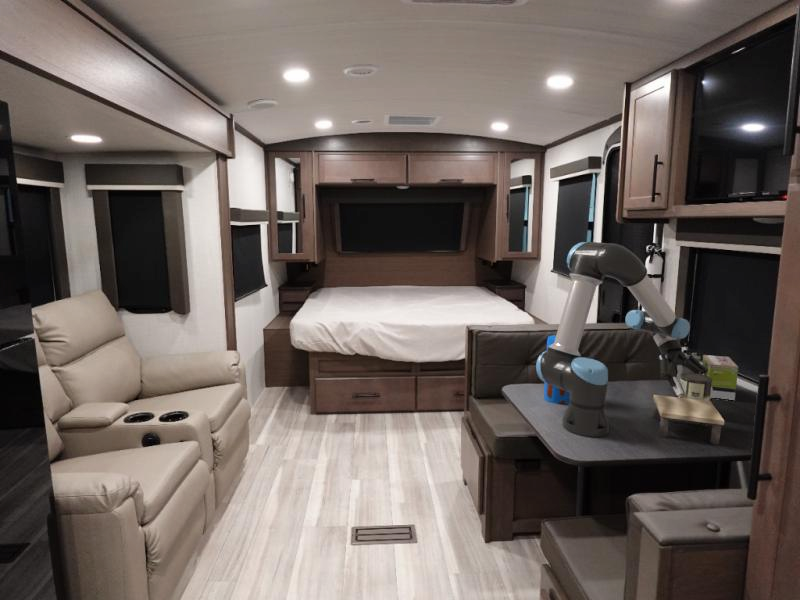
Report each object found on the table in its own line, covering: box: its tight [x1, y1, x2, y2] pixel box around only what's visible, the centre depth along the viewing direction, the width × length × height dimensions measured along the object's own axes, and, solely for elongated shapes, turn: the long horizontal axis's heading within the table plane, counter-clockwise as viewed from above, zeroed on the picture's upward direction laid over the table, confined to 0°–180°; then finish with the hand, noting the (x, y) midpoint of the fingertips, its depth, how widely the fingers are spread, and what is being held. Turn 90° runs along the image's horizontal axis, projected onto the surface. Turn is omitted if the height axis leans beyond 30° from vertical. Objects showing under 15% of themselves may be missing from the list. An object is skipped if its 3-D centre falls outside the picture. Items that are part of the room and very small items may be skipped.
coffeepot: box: [675, 348, 702, 385], centre depth 210 cm, size 15×9×18 cm, turn 125°
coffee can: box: [678, 373, 712, 401], centre depth 185 cm, size 10×10×14 cm
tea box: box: [701, 354, 739, 401], centre depth 206 cm, size 15×10×15 cm
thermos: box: [543, 334, 570, 405], centre depth 196 cm, size 11×11×25 cm
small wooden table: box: [652, 394, 725, 446], centre depth 170 cm, size 18×18×8 cm
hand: (695, 392), depth 186 cm, fingers open, 13 cm apart
